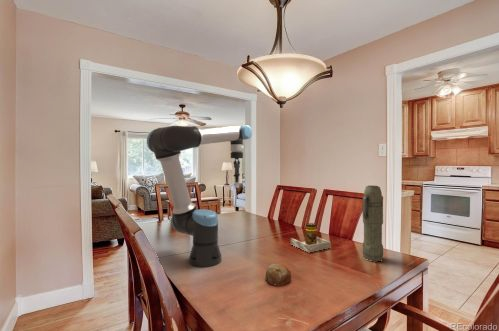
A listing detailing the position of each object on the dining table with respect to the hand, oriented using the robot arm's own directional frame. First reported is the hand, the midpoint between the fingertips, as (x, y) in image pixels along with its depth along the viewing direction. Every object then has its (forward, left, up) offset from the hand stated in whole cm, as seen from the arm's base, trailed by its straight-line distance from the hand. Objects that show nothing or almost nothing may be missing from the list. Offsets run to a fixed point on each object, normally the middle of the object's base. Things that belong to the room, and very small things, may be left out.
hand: (236, 186), depth 157 cm
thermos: (-37, -65, -32) cm, 81 cm away
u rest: (-18, -40, -32) cm, 54 cm away
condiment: (-18, -40, -31) cm, 54 cm away
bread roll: (-56, -16, -32) cm, 67 cm away
